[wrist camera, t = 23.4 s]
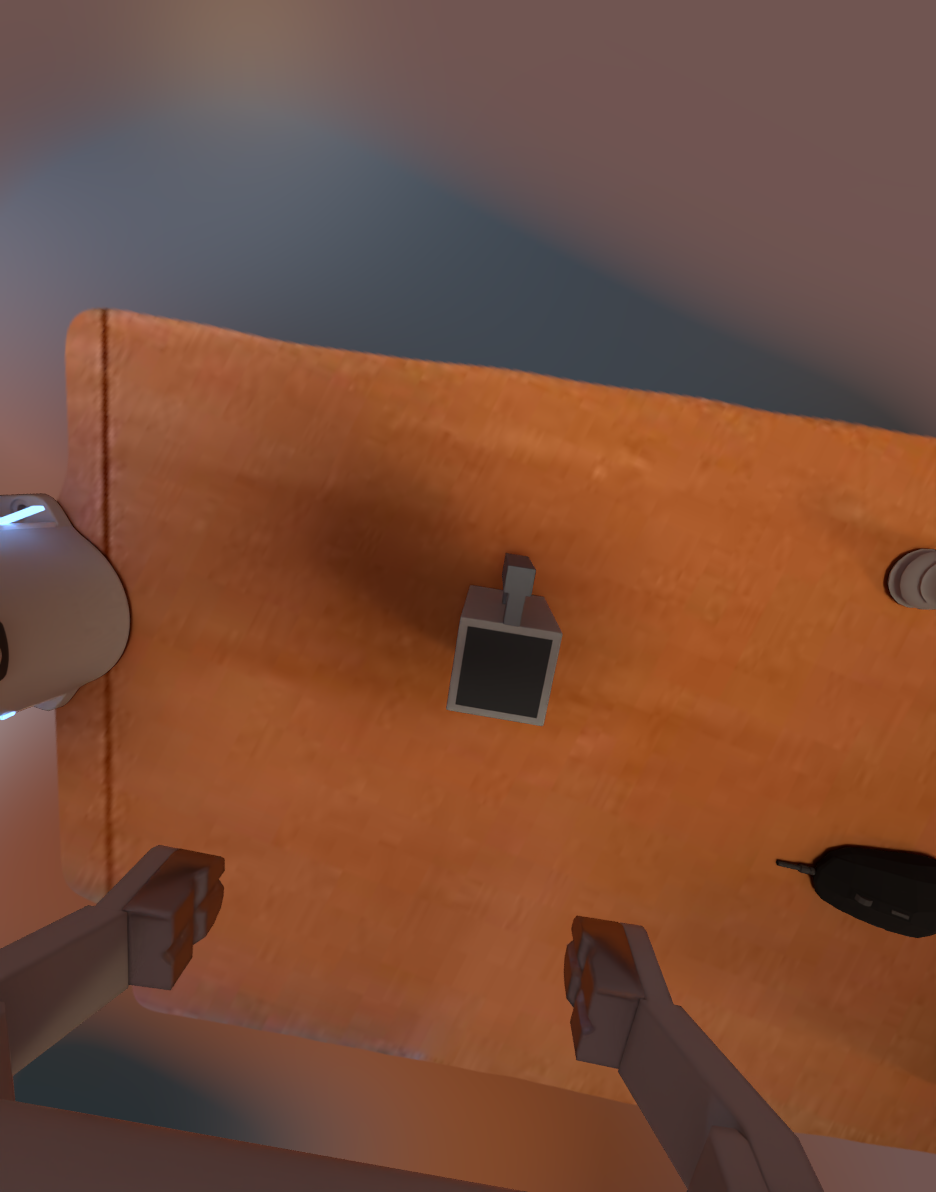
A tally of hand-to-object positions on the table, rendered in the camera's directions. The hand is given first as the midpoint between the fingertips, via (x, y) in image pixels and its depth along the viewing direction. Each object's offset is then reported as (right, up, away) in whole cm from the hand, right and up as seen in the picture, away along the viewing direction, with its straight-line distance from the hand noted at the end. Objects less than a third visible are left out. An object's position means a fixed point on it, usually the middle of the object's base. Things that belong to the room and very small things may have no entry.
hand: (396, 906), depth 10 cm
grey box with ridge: (+4, +1, +22) cm, 22 cm away
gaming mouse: (+36, -17, +29) cm, 49 cm away
